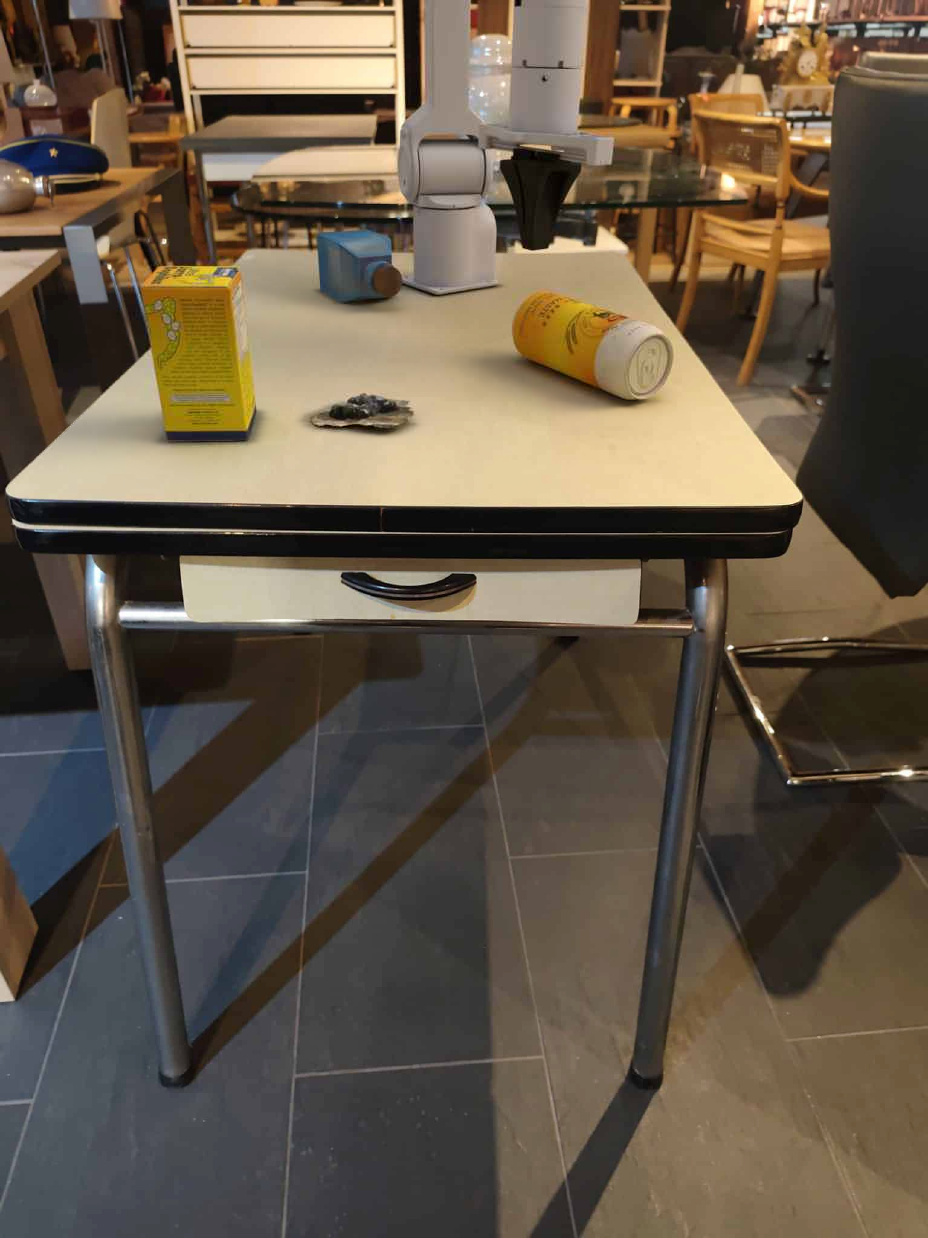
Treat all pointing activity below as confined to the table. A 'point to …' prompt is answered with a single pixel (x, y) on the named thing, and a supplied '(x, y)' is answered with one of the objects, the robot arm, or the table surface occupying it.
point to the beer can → (593, 345)
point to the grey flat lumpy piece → (365, 412)
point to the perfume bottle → (356, 266)
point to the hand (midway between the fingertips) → (535, 248)
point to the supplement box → (200, 352)
